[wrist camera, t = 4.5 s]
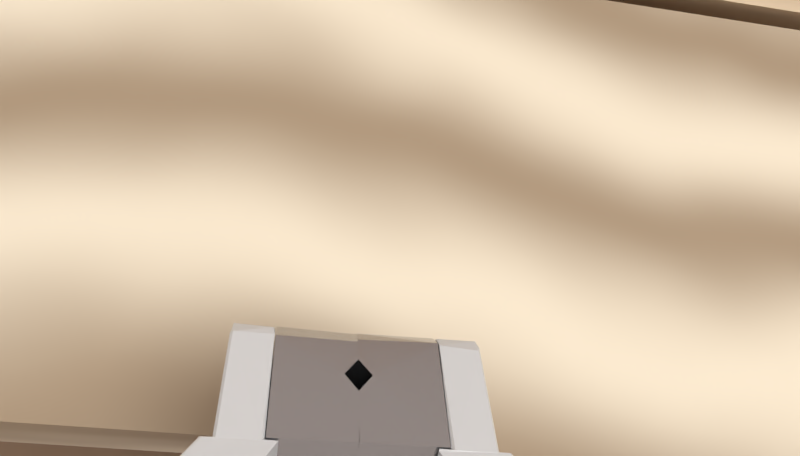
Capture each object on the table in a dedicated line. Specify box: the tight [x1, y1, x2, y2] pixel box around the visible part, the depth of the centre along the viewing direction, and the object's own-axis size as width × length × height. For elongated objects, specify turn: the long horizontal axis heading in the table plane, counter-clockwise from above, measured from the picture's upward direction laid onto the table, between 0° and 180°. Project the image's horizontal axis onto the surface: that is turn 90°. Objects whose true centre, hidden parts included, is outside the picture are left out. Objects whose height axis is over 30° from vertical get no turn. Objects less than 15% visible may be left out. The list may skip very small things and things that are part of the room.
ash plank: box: [0, 0, 800, 456], centre depth 16 cm, size 12×28×1 cm, turn 84°
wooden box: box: [0, 0, 800, 456], centre depth 21 cm, size 22×30×5 cm
